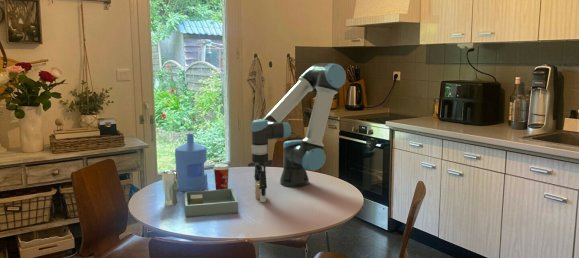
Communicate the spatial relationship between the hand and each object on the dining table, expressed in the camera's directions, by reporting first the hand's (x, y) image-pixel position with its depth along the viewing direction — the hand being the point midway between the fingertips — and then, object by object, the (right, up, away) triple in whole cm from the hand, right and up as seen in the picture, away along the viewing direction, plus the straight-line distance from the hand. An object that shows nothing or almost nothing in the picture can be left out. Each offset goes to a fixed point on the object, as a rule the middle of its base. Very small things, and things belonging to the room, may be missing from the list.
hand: (260, 197), depth 211 cm
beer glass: (-40, -2, -8) cm, 41 cm away
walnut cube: (-27, -2, -14) cm, 31 cm away
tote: (-21, -2, -13) cm, 25 cm away
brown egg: (0, 0, 0) cm, 0 cm away
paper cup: (-20, +1, +9) cm, 21 cm away
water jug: (-36, +2, +17) cm, 40 cm away
